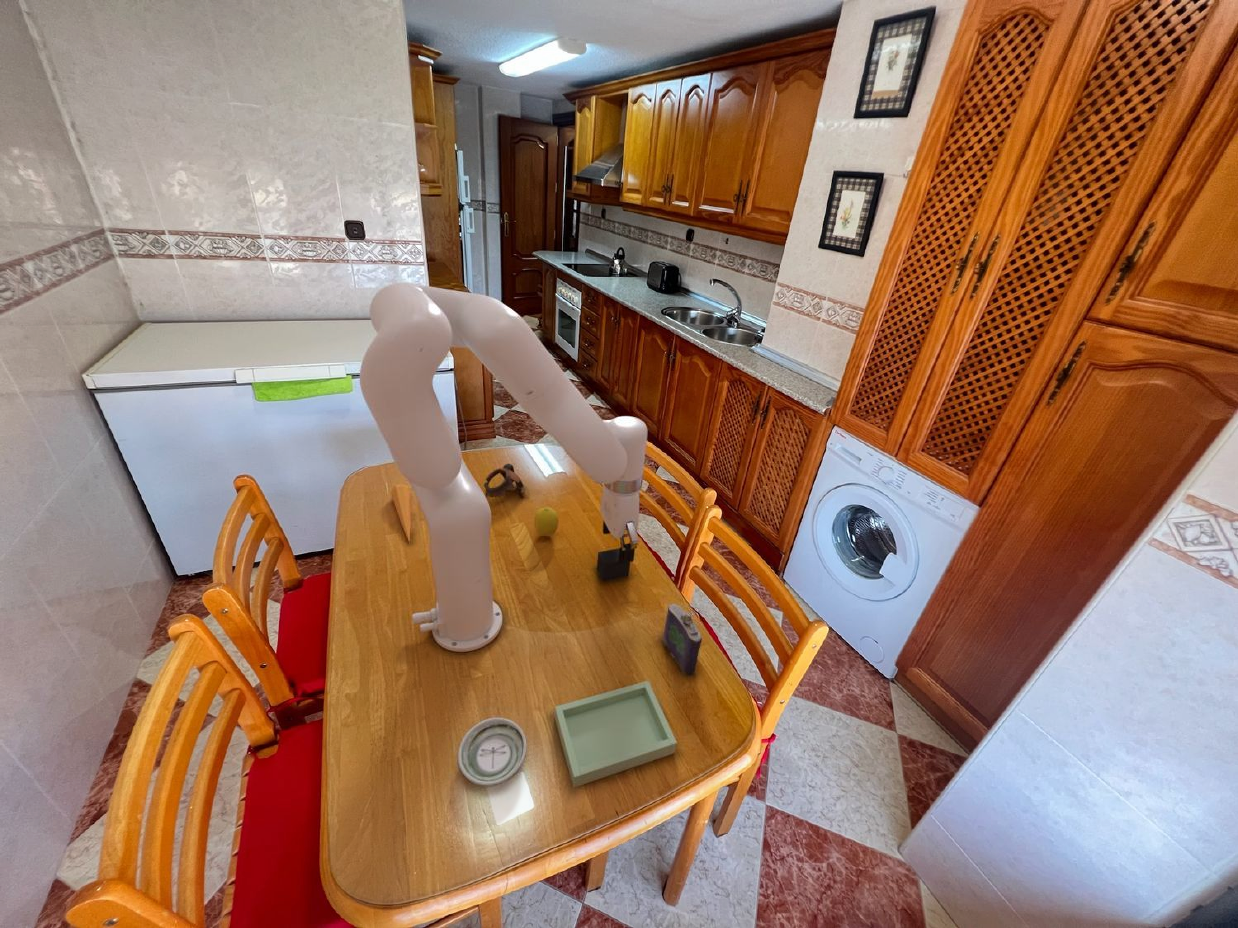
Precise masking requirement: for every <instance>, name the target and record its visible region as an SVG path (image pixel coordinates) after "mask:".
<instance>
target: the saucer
mask: <svg viewBox="0 0 1238 928" xmlns="http://www.w3.org/2000/svg"><path fill="white" fill-rule="evenodd" d="M527 749H528V741H527V737H526V735H525V732H524V730H523V729H522V727H521V726H520V725H519V724H518V723H516V722H515V721H514V720H511V719H508V718H505V717H490V718H487V719H484V720H482V721H479V722H478V723H476V724H475V725H474V726H472V727H470V729H469V730H468V731H467V732H466V733H465V735H464V736H463V738H462V740H461V742H460V744H459V747H458V751H457V764H458V767H459V770H460V772H461V773H462V776H463V777H464V778H465V779H467V780H468V781H469V782H470V783H472V784H474V785H477V786H480V787H493V786H499V785H501V784H503V783H505V782H507V781H509V780H510V779H511V778H513V776H514V775H516V774H517V773H518V771H519V770H520V769H521V767H522V766H523V764H524V761H525V760H526V755H527Z"/></svg>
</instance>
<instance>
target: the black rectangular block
mask: <svg viewBox="0 0 1238 928" xmlns="http://www.w3.org/2000/svg"><path fill="white" fill-rule="evenodd" d="M619 548H620V547H619ZM619 548H613V549H607V550H601V551H598V552H597V561H596V570H597V573H598V575H599V577H600V580H601V581H602V582H607V581H612V580H613V581H614V580H619V579H624V578H628V577H629V576H630V567H631V562H628V563H623V564H619V562H618V557H619Z"/></svg>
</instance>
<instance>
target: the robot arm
mask: <svg viewBox="0 0 1238 928" xmlns="http://www.w3.org/2000/svg"><path fill="white" fill-rule="evenodd" d="M369 317H370V321H371V324H372V327H373V328H374V331H375V332H376V335H375V336H374V339H373V340H372V341H371V343H370V344H369V346H368V348H367V349H366V351H365V353H364V356H363V358H362V362H361V365H360V370H359V386H360V390H361V394H362V397H363V399H364V402H365V404H366V406H367V409H368V410H369V412H370V414H371V416H372V418H373V420H374V421H375V423H376V425H377V428H378V430H379V432H380V434H381V435H382V437H383V439H384V440H385V443H386V445H387V448H388V451H389V453H390V455H391V457H392V460H393V462H394V463H395V465H396V467H397V469H398V470H399V471H400V472H401V474H402V475H403V476H404V477H405V478H406V479H407V481H408V483H409V485H410V486H411V488H412V490H413V492H414V494H415V497H416V499H417V501H418V503H419V506H420V510H421V512H422V514H423V517H424V519H425V522H426V526H427V530H428V535H429V553H430V561H431V566H432V567H431V568H432V574H433V581H434V582H433V583H434V586H435V587H434V588H435V594H436V595H435V597H436V603H435V606H436V607H434V608H431V609H430V610H429V611H425V612H423V611H421V612H415V613H412V624H413V626H415V625H418V624H419V628H420V629H419V631H420V633H425V632H426V633H427V632H430V631H431V633H432V636H433V639H434V640H435V642H436V643H437V644H438V645H439V646H440V647H441V648H443V649H446V650H448V651H452V652H456V653H457V652H459V653H462V652H463V653H464V652H471V651H475V650H478V649H481V648H483V647H485V646H486V645H488V644H490V643H491V642H492V641H493V640H494V639H495V638H496V637H497V636H498V635H499V633H500V631H501V629H502V626H503V613H502V610H501V607H500V606H499V605H498V604H497V603H496V602H495V601H494V598H493V596H494V595H493V585H492V584H493V582H492V567H491V551H490V550H491V549H490V537H491V529H492V510H491V507H490V504H489V501H488V499H487V497H486V495H485V493H484V491H483V490H482V488H481V487H480V485H479V484H478V482H477V480H476V479H475V478H474V476H473V474H472V473H471V471H470V470H469V468H468V466H467V464H466V463H465V461H464V459H463V456H462V449H461V445H460V442H459V439H458V437H457V435H456V433H455V431H454V429H453V428H452V426H451V425H450V424H449V422H448V420H447V418H446V416H445V414H444V411H443V409H442V408H441V405H440V402H439V399H438V396H437V394H436V392H435V389H434V386H433V385H434V383H433V382H434V378H435V374H436V373H437V371H438V369H439V367H440V366H441V365H442V363H443V362H444V361H445V359H446V358H447V356H448V355H449V352H450V350H451V348H458V349H459V348H461V349H469V351H471V352H472V353H473V354H474V356H475V357H476V358H477V359H478V361H480V362H481V364H483V366H484V367H485V368H486V369H487V370H488V371H489V373H491V375H492V376H493V377H494V378H495V379H496V380H497V382H499V384H500V385H501V386H502V387H503V388H504V389H505V390H506V392H508V394H509V395H510V396H511V397H512V398H513V399H514V400H515V402H517V404H518V405H519V406H520V407H521V408H522V409H523V410H524V411H525V413H526V414H528V416H529V417H530V418H531V419H532V420H533V421H534V422H535V423H536V424H537V425H538V426H539V427H540V428H541V429H542V430H543V431H545V432H546V433H547V434H549V436H551V438H553V439H554V440H555V441H556V442H557V443H558V444H559V445H560V446H561V447H562V449H563V451H564V453H565V454H566V455H567V456H568V457H569V458H570V459H571V460H572V461H573V462H574V463H575V464H576V465H577V466H578V468H580V469H581V470H582V471H583V472H584V473H585V474H586V476H588V478H589V479H590V480H591V481H593V482H594V483H597V484H599V485H602V491H601V497H600V498H601V499H600V508H599V509H600V510H599V511H600V516H601V518H602V533H603V534H604V535H608V534H610V535H611V537H613V538H614V539H615V540H618V539H619V543H620V547H619V557H618V562H619V564H623V563H628V562H630V563H632V562H633V561H634V559H635V551H636V549H637V548H638V545H639V543H640V542H639V537H638V534H637V533H638V529H639V520H640V492H641V490H642V488H643V478H644V469H645V460H646V452H647V451H646V450H647V441H648V431H649V430H648V426H647V425H646V423H645V422H644V421H643V420H642V419H640V418H638V417H634V416H630V415H621V416H616V417H614V418H612V419H602V417H600V415H599V414H598V413H597V412H596V411H595V410H594V409H593V407H592V406H591V404H589V402H588V401H587V400H586V399H585V397H584V396H583V395H582V392H580V391H579V389H578V388H577V387H576V386H575V384H574V383H573V382H572V381H571V380H570V378H569V376H567V374H566V373H565V372H564V371H563V369H562V368H561V367H560V365H559V364H558V363H557V362H556V360H555V359H554V358H553V356H552V355H551V353H550V352H549V351H548V349H547V348H546V347H545V345H544V344H543V343H542V341H541V340H540V339H539V338H538V336H537V335H536V334H535V332H534V331H533V330H532V328H531V327H530V326H529V324H528V323H527V322H526V321H525V319H524V318H523V317H522V316H521V315H520V314H519V313H517V312H516V311H515V310H513V309H512V308H511V307H509V306H507V304H505V303H503V302H502V301H500V300H499V299H496V298H495V297H492V296H488V295H483V294H479V293H472V292H467V291H460V290H453V289H449V288H448V289H447V288H440V287H435V286H430V285H424V284H417V283H411V282H396V283H395V282H393V283H390V284H388V285H387V284H386V285H385V286H383V287H382V288H380V289H378V291H377V292H376V293H375V294H374V296H373V297H372V300H371V302H370V305H369ZM626 532H627V533H626ZM627 537H628V540H629V541H628V543H625V538H627ZM426 622H428V623H426Z"/></svg>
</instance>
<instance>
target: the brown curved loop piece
mask: <svg viewBox="0 0 1238 928" xmlns="http://www.w3.org/2000/svg"><path fill="white" fill-rule="evenodd" d="M499 474H500V475H501V476H502V477H503V479H504V481H503V482H501V484H500V485H497V486H495V487H490V486H489V484H490V482H491V481H492V479H493V478H495V477H496V476H497V475H499ZM485 480H486V482H484V484H483V486H484V489H485V493H486V495H487V496H488V497H490V498H497V497H502V498H503V497H504V498H505V497H506V495H505V490H506V491H514V490H515V489H516V488H520V494H521V496H522V498H525V496H526V489H525V485H524V483H523V481H522V479H521V477H520V476H519V474H517V473H516V472H515V468H514V465H512V464H511V463H506V464H504V465H503V467H499V468H496V469H494V470H492V471H491V472H490V473H489V474H487V476H486V478H485ZM514 484H515V485H514Z"/></svg>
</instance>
